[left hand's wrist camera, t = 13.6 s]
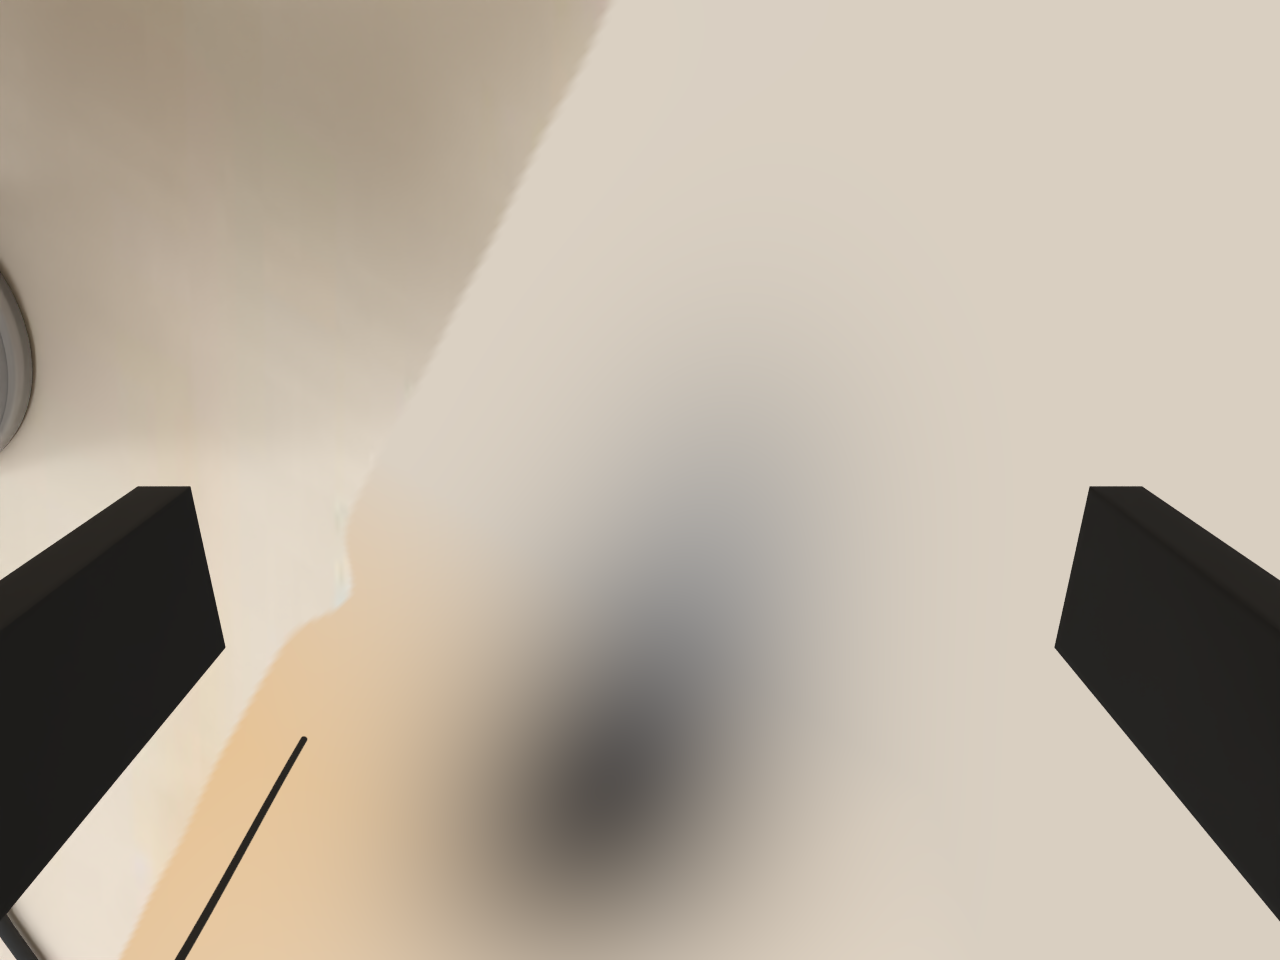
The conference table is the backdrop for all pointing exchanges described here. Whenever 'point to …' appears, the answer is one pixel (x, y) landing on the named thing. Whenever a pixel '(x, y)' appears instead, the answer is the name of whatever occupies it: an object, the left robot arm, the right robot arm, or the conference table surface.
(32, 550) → the conference table surface
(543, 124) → the conference table surface
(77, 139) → the conference table surface
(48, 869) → the conference table surface
